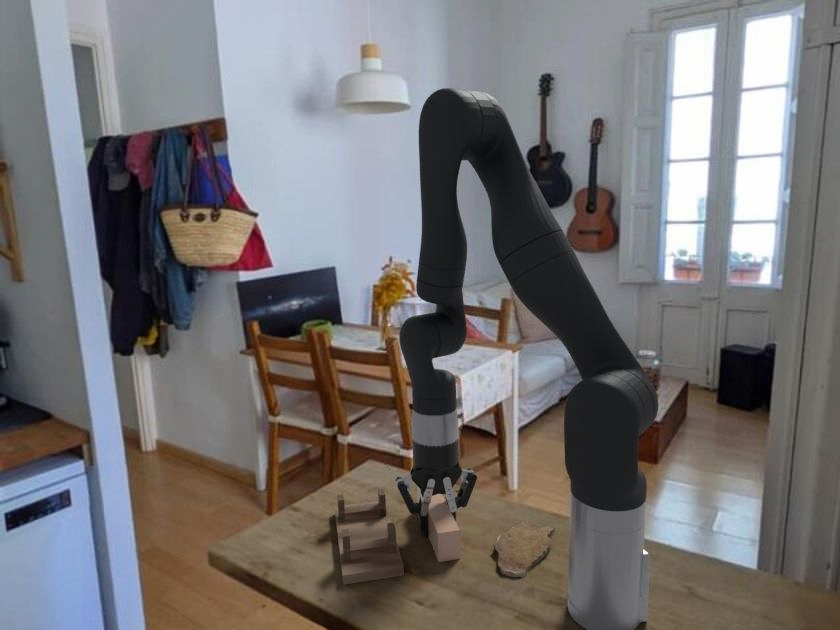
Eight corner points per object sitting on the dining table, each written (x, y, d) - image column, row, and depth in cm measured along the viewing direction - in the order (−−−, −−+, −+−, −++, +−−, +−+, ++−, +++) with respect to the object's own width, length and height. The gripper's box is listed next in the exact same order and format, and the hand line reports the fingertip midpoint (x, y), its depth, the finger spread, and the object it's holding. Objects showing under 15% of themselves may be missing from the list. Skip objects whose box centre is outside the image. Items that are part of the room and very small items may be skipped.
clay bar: (436, 507, 106) (436, 481, 105) (460, 559, 90) (459, 530, 89) (417, 509, 105) (416, 484, 104) (438, 562, 90) (437, 533, 89)
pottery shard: (540, 593, 84) (557, 530, 98) (540, 578, 84) (557, 517, 97) (484, 581, 87) (508, 521, 101) (483, 566, 87) (507, 508, 100)
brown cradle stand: (334, 514, 104) (333, 485, 103) (384, 507, 106) (383, 479, 105) (343, 584, 85) (341, 550, 84) (404, 575, 86) (402, 541, 85)
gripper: (395, 448, 89) (399, 550, 93) (484, 438, 92) (485, 537, 95) (388, 430, 96) (392, 525, 100) (470, 421, 99) (471, 514, 102)
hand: (437, 530), depth 97 cm, fingers closed on clay bar, 3 cm apart
